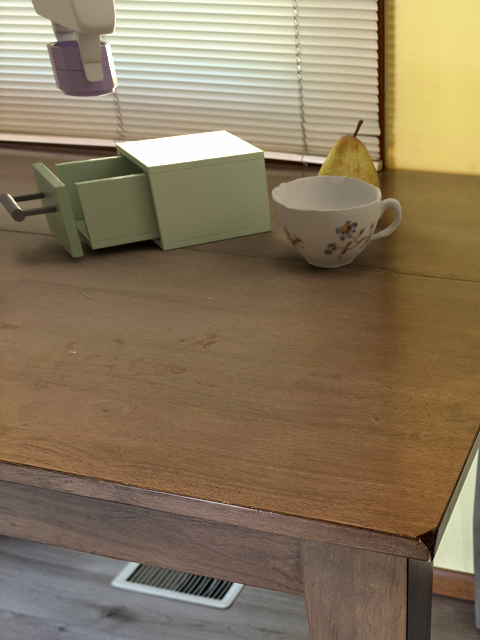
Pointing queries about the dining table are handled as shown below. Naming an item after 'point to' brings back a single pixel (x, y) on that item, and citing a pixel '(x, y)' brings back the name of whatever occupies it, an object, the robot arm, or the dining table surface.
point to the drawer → (92, 203)
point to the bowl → (80, 70)
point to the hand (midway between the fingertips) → (84, 75)
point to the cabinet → (203, 187)
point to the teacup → (331, 217)
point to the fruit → (350, 160)
